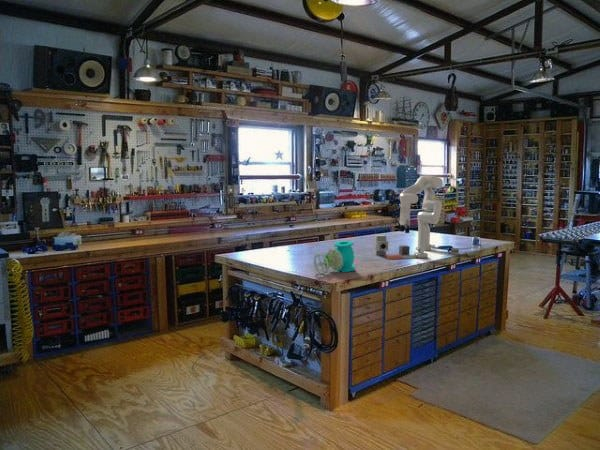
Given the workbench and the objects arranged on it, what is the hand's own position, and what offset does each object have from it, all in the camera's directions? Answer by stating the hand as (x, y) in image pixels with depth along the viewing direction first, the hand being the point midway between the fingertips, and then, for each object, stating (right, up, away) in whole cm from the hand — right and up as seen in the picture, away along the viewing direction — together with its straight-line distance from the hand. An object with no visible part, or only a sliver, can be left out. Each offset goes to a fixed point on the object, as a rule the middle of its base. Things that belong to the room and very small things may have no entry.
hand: (404, 232), depth 388 cm
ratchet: (-1, -19, -11) cm, 22 cm away
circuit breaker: (-18, -18, +2) cm, 26 cm away
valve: (-58, -25, -61) cm, 88 cm away
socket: (0, -18, +2) cm, 18 cm away
